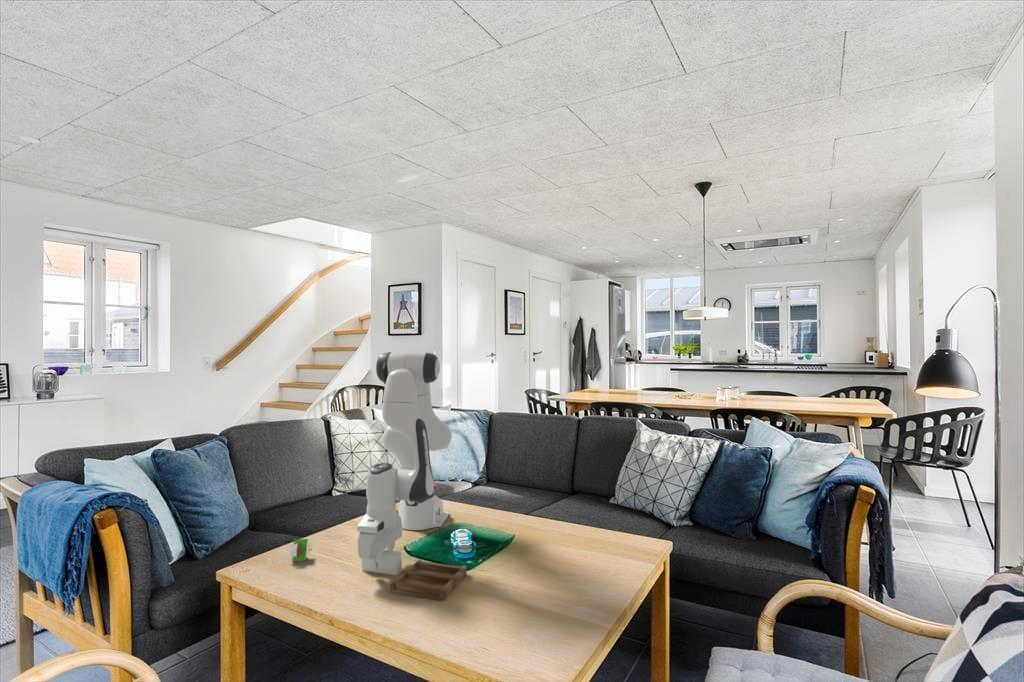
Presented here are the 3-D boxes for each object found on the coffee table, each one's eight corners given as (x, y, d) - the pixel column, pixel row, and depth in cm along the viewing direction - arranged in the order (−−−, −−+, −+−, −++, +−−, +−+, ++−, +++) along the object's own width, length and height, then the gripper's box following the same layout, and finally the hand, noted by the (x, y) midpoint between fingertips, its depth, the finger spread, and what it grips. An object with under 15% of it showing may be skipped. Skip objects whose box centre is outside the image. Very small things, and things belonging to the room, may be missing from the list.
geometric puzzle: (294, 547, 181) (289, 533, 176) (315, 546, 182) (310, 532, 177) (289, 567, 176) (283, 553, 171) (310, 566, 176) (306, 552, 171)
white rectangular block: (367, 567, 171) (367, 548, 171) (401, 571, 167) (401, 552, 167) (362, 571, 168) (361, 551, 168) (397, 575, 164) (396, 556, 164)
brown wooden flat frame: (418, 567, 169) (418, 559, 169) (466, 574, 164) (466, 566, 164) (390, 593, 153) (390, 584, 153) (442, 600, 148) (442, 591, 148)
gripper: (389, 506, 178) (390, 548, 178) (353, 528, 158) (354, 575, 159) (406, 508, 176) (407, 550, 176) (372, 530, 157) (373, 578, 157)
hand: (382, 562), depth 167 cm, fingers open, 7 cm apart
